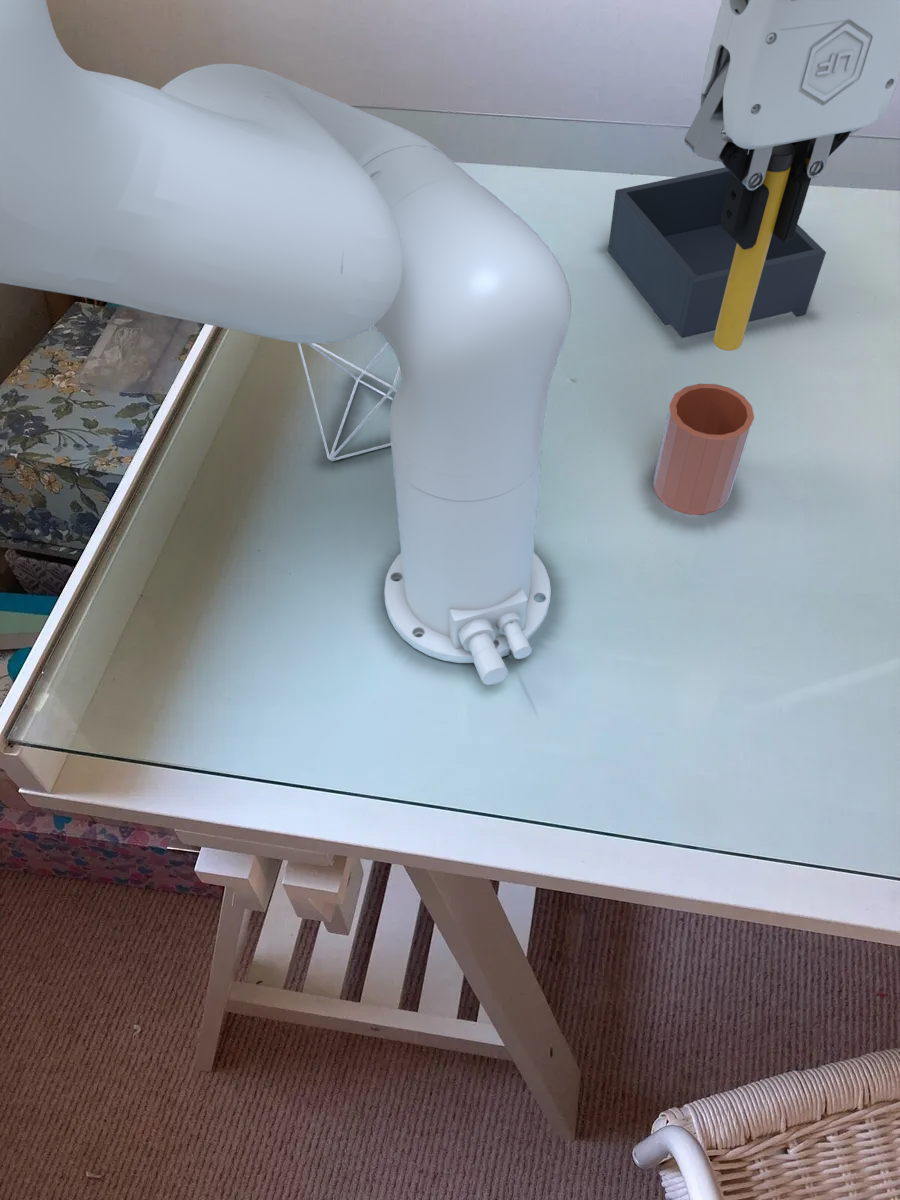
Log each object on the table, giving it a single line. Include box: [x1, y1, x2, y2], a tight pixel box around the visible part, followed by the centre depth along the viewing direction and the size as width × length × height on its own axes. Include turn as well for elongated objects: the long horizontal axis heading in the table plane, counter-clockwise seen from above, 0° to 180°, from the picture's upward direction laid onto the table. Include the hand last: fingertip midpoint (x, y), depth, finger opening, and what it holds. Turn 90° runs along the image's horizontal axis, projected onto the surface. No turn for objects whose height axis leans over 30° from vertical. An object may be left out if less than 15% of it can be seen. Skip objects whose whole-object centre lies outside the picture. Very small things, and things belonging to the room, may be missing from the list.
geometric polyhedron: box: [297, 341, 401, 462], centre depth 82 cm, size 12×11×9 cm
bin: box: [607, 166, 827, 339], centre depth 95 cm, size 17×14×7 cm
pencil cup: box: [653, 383, 755, 516], centre depth 76 cm, size 6×6×9 cm
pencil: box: [712, 143, 795, 352], centre depth 62 cm, size 2×2×14 cm
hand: (756, 231), depth 61 cm, fingers closed on pencil, 2 cm apart
